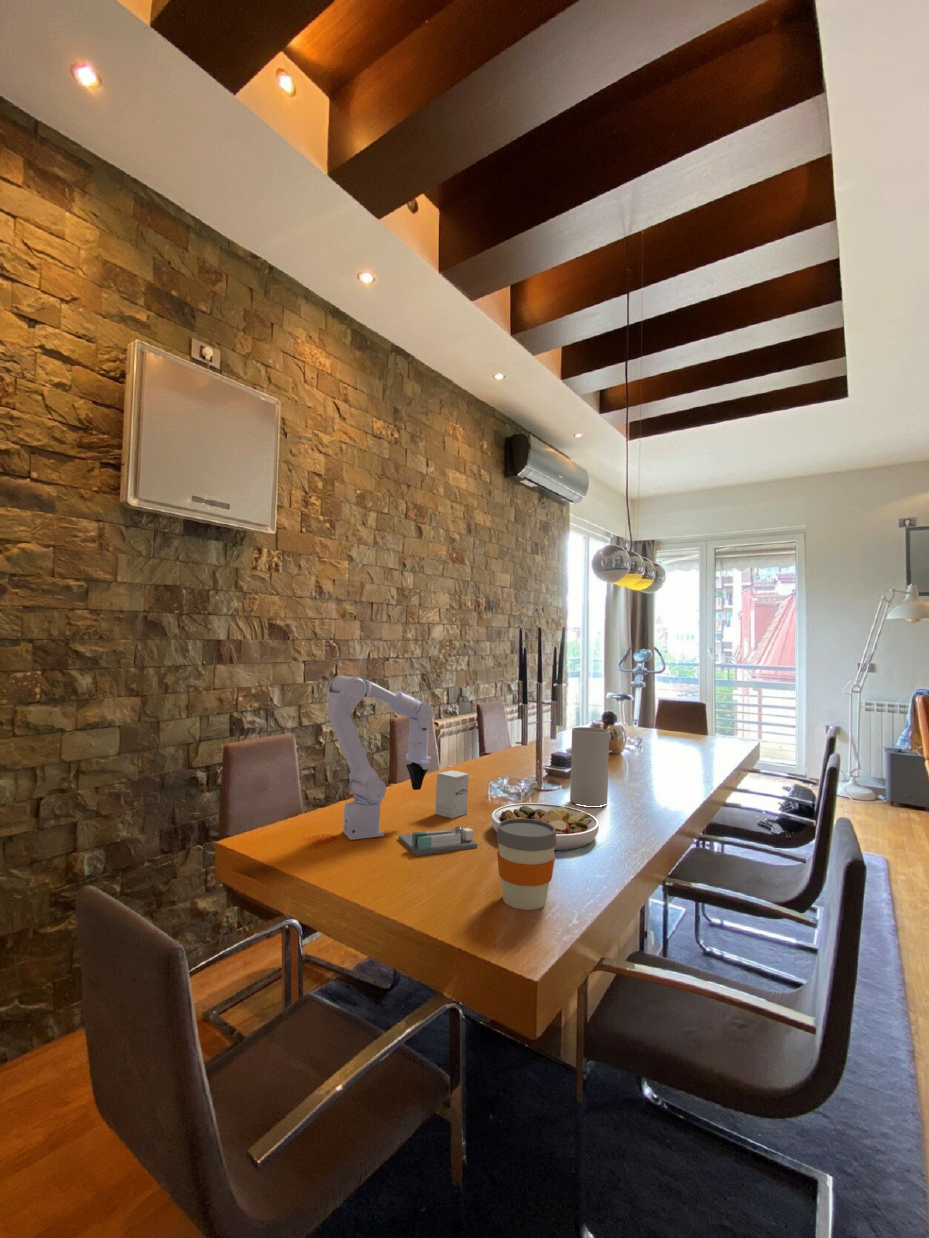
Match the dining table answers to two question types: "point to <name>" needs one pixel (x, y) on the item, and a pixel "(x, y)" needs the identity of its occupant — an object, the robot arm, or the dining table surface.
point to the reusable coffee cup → (525, 861)
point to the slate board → (464, 845)
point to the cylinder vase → (589, 766)
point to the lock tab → (467, 834)
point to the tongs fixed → (440, 840)
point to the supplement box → (451, 794)
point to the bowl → (553, 822)
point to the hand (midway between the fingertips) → (416, 789)
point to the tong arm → (417, 834)
